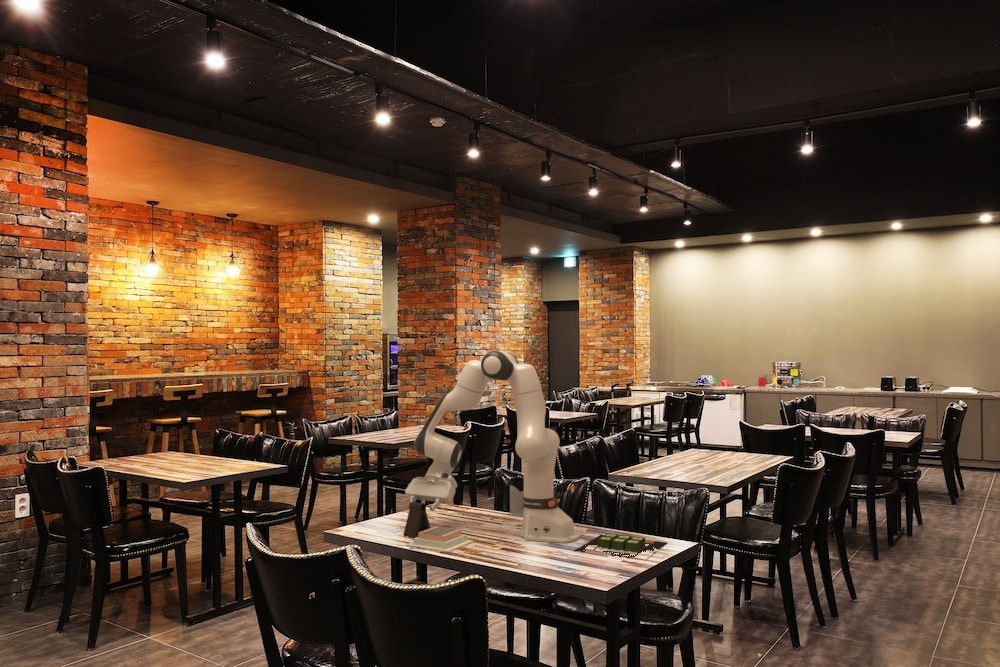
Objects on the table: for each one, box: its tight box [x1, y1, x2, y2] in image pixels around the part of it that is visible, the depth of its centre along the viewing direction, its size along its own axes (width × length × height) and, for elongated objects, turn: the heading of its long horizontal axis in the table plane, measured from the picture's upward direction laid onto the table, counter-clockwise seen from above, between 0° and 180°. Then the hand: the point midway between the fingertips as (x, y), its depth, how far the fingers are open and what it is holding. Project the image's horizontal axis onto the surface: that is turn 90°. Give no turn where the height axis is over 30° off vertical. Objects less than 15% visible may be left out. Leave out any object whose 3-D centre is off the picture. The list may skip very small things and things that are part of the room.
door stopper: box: [402, 501, 431, 539], centre depth 276 cm, size 9×6×12 cm, turn 140°
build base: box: [405, 526, 475, 553], centre depth 262 cm, size 18×16×5 cm
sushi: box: [574, 532, 669, 559], centre depth 256 cm, size 25×25×4 cm
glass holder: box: [508, 476, 524, 516], centre depth 311 cm, size 9×14×15 cm, turn 123°
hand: (421, 508), depth 278 cm, fingers open, 8 cm apart
